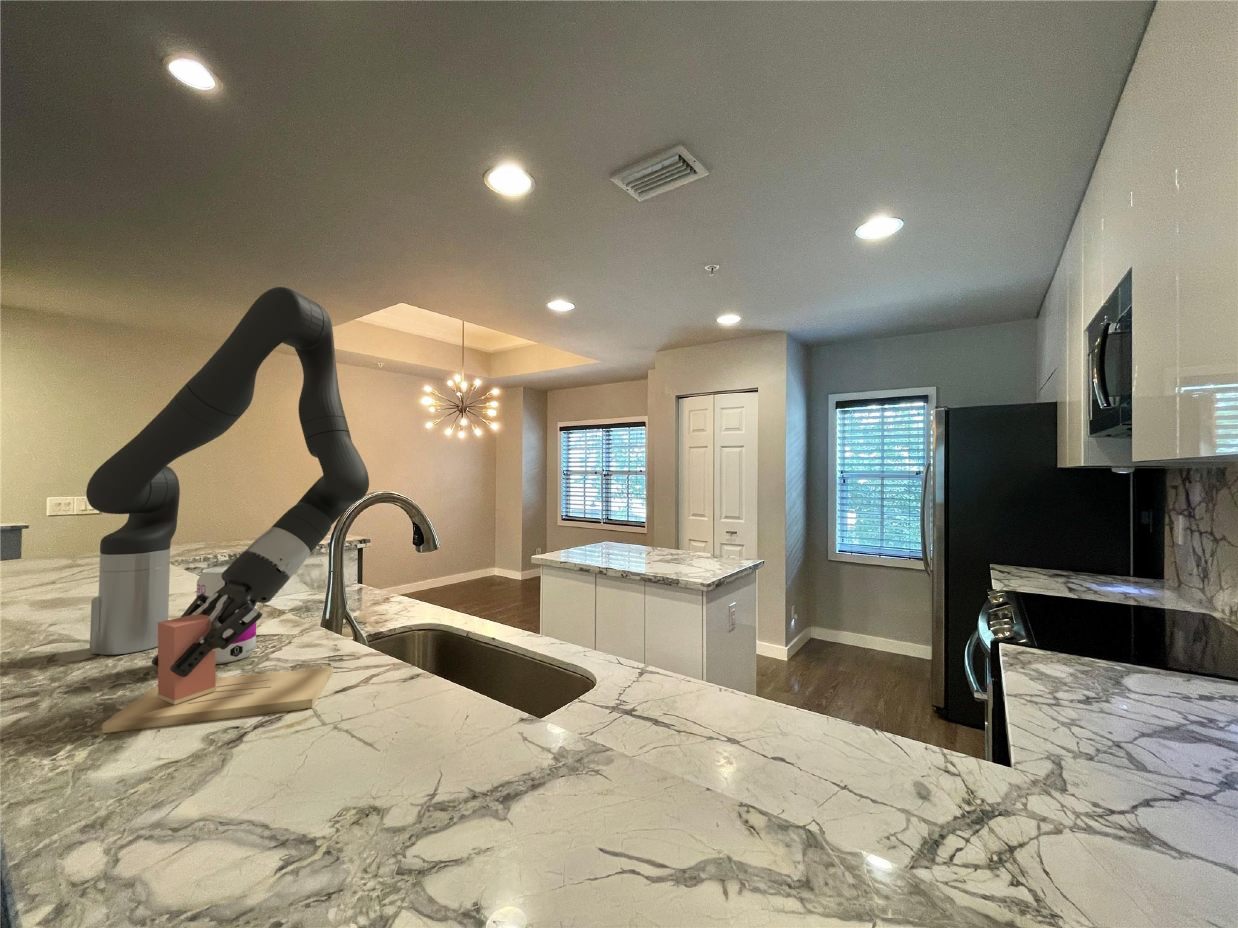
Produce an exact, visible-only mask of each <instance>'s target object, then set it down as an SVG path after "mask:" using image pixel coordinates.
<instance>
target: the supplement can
mask: <svg viewBox="0 0 1238 928" xmlns="http://www.w3.org/2000/svg"><path fill="white" fill-rule="evenodd" d="M229 566H230V565H224V566H217V567H211V568H206V569H203V570H202V571H201V574H200V575H199V577H198V578H197V580H196V597H197V596H198V595H200V594H204V595H206V596H207V597H210V596H212V595H213V594H214V593H215V592H217V591H218V590H219V589H221V588H222V587H223V586H224V585H225V581H223V579H222V577H221V575H222V573H223V572H224V571H225V570H226V569H227V568H228V567H229ZM196 597H195V598H196ZM257 606H258V603H257V604H256V606H255V608H256V609H257V610H258V607H257ZM240 622H241V621H240ZM233 632H234V631H233ZM227 637H228V636H226V637H225V639H226V638H227ZM256 645H257V621H256V622H255V623H254V624H253V625H252V626H251V627H250V628H248V629H247V630H246V631H245V632H244V633H243V634H242V635H241V636H239V637H238V638H237V639H236V640H235V641H234V642H233V643H232V644H230V645H229V646H228V647H227V648H226V649H224V650H222V649H220V648H217V649H216V650H215V665H221V664H228V663H232V662H236V661H239V660H243V659H245V658H248V657H249V656H250V655H252V653H253V652H254V651H255V650H256V647H257V646H256Z"/></svg>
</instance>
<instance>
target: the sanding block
mask: <svg viewBox="0 0 1238 928" xmlns="http://www.w3.org/2000/svg"><path fill="white" fill-rule="evenodd" d="M210 619H211V618H209V616H207V615H202V614H200V615H189V616H185V617H181V616H180V617H176V618H172V619H168V620H167V621H162V622H158V646H157V654H158V667H157V685H158V698H160V699H162V700H164V701H167V702H169V703H171V704H174V705H176V704H179V703H181V702H184V701H187V700H190V699H193V698H196V697H199V696H202V695H204V694H207V693H210V692H213V691H216V664H215V651H213V652H211V651H210V652H209V653H208V654H207V655H206V656H205V657H204V658H203V659H202V661H201V662H200V663H199V664H198V665H197V666H196V667H195V668H194V669H193V670H192V671H191V673H190V674H189V675H188V676H186V677H181V676H179V675H177V674H175V673H173V672H172V671H170V667H171V666H172V665H173V664H174V663H175V662H176V661H177V660H178V659H179V658H180V657H181V656H182V655H183V653H184V652H185V651H186V650H187V649H188V648H189V647H190V646H191V645H192V644H193V643H195V644H198V643H196V640H197V639H198V637H199V636H200V635H201V634H202V633H203V631H204V630H205V629H206V628H207V622H208V621H209V620H210ZM213 632H214V630H213ZM213 632H212V633H213ZM212 633H211V634H212Z"/></svg>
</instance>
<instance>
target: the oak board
mask: <svg viewBox="0 0 1238 928" xmlns="http://www.w3.org/2000/svg"><path fill="white" fill-rule="evenodd" d="M333 671H334V667H333V666H326V667H315V668H306V669H298V670H295V669H294V670H286V671H276V672H275V671H274V672H266V673H257V674H247V675H237V676H234V675H233V676H225V677H217V678H216V691H213V692H210V693H207V694H204V695H202V696H199V697H196V698H193V699H190V700H187V701H184V702H181V703H179V704H176V705H174V704H171V703H169V702H167V701H164V700H162V699H160V698H158V684H156V686H154V687H152V688H151V689H150V690H148V691H146V692H145V693H144V694H142V695H141V696H139V697H138V698H136V699H135V700H134V701H132V702H131V703H130V704H128V705H126V706H125V707H123V708H122V709H121V710H120V711H118V712H117V713H115V714H113V715H112V716H111V717H109V718H108V719H106V720H105V721H104V722H102V727H101V728H102V730H101V731H102V732H101V733H102V734H107V733H116V732H126V731H133V730H141V729H142V730H143V729H150V728H157V727H159V728H160V727H165V726H174V725H182V724H190V723H198V722H208V721H216V720H224V719H232V718H238V717H239V718H240V716H241V717H247V716H250V717H251V716H256V715H257V716H258V715H264V714H274V713H282V712H289V711H297V710H298V711H299V710H306V708H307V709H313V708H314V706H315V704H316V702H317V701H318V699H319V698H320V696H321V695H322V692H323V691H324V690H325V688H326V686H327V685H328V683H329V681H330V680H331V678H332V677H333V674H334V672H333Z"/></svg>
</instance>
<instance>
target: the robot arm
mask: <svg viewBox="0 0 1238 928" xmlns="http://www.w3.org/2000/svg"><path fill="white" fill-rule="evenodd" d="M281 344H284V345H285V346H286V345H287V346H290V347H292V348H294V350H295V352H296V354H297V356H298V360H299V361H300V363H301V368H302V373H303V378H302V379H303V381H302V382H303V383H302V386H301V387H302V388H301V391H300V395H299V400H298V418H299V419H298V420H299V424H300V427H301V431H302V434H303V437H304V441H305V445H306V448H307V451H308V452H309V454H310V455H311V456H312V457H314V458H317V459H318V463H319V466H320V467H321V471H322V475H321V476H320V477H319V478H318V479H317V480H316V481H315V482H313V483H314V484H313V485H311V487H310V488H309V489H308V490H307V491H306V492H305V493H304V494H303V496H302V497H301V498H300V499H299V500H298V502H297V503H296V504H295V505H293V506H292V507H291V508H289V509H288V510H287V511H286V512H285V513H284V514H283V515H282V516H281V517H279V519H277V521H276V522H275V523H273V525H272V526H271V527H270V528H269V529H268V530H266V531H265V532H264V533H261V535H260V536H258V537H257V538H256V539H255V540H254V541H253V542H252V543H251V544H250V545H249V546H248V547H247V548H246V549H245V550H244V551H242V553H241V554H240V555H238V557H237V558H236V559H235V560H234V561H233V562H231V564H230V565H228V566H229V567H228V568H227V569H226V570H225V571H224V572H223V573H222V575H221V577H222V579H223V581H225V585H224V586H223V587H222V588H221V589H219V590H218V591H217V592H215V593H214V594H213V595H212V596H210V597H207V596H206V595H204V594H200V595H198V596H197V597H195V598H194V600H193V601H192V603H190V605H189V606H188V607H187V608H186V610H184V612H183V614H181V616H180V617H185V616H189V615H200V614H202V615H207V616H209V618H211V619H210V620H209V621H208V622H207V628H206V629H205V630H204V631H203V633H202V634H201V635H200V636H199V637H198V639H197V640H196V643H198V644H195V643H193V644H192V645H191V646H190V647H189V648H188V649H187V650H186V651H185V652H184V653H183V655H182V656H181V657H180V658H179V659H178V660H177V661H176V662H175V663H174V664H173V665H172V666H171V667H170V671H172V672H173V673H175V674H177V675H179V676H181V677H186V676H188V675H189V674H190V673H191V671H192V670H193V669H194V668H195V667H196V666H197V665H198V664H199V663H200V662H201V661H202V659H203V658H204V657H205V656H206V655H207V654H208V653H209V652H210V651H211V652H213V651H215V650H216V649H217V648H220V649H222V650H224V649H226V648H227V647H228V646H229V645H230V644H232V643H233V642H234V641H235V640H236V639H237V638H238V637H239V636H241V635H242V634H243V633H244V632H245V631H246V630H247V629H248V628H250V627H251V626H252V625H253V624H254V623H255V622H256V623H257V622H258V621H259V620H260V619H261V618H262V616H263V613H262V612H261V611H260V610H259V609H258V608H257V609H256V608H255V606H256V604H257V605H258V603H259V604H260V603H261V604H267V603H269V602H270V601H272V599H274V597H275V596H276V595H277V594H278V593H279V591H280V590H282V589H283V587H284V586H285V585H286V584H287V583H288V582H289V581H290V580H291V578H292V577H293V576H294V575H295V574H296V573H297V572H298V570H299V569H300V568H301V567H302V566H303V564H304V563H305V562H306V560H307V558H308V557H309V556H310V555H311V553H312V552H313V551H314V550H315V549H316V548H317V547H318V546H319V545H320V544H321V542H322V541H323V540H324V539H325V538H326V536H327V535H328V534H329V533H330V531H331V529H332V526H333V525H334V523H335V522H337V521H338V519H339V518H340V517H341V516H342V515H343V514H344V513H345V512H346V511H348V509H349V508H351V506H353V505H355V504H356V503H358V502H360V500H362V499H363V498H364V497H365V496H366V495H367V494H368V492H369V491H368V490H369V486H370V478H369V473H368V469H367V466H366V465H365V463H364V461H363V459H362V457H361V455H360V453H359V451H358V449H357V448H356V446H355V444H354V443H353V441H352V436H351V433H350V428H349V426H348V425H349V424H348V421H347V418H346V414H345V411H344V407H343V402H342V398H341V394H340V387H339V380H338V372H337V371H338V370H337V361H336V353H335V352H336V351H335V339H334V330H333V323H332V320H331V316H330V315H329V313H328V312H327V310H326V309H325V308H324V307H323V306H321V305H320V304H319V303H317V302H315V300H314V301H313V299H310V298H308V297H306V296H304V295H302V294H300V293H299V292H297V291H295V290H293V289H291V288H288V287H284V286H276V287H272V288H270V289H268V290H266V291H265V292H263V293H262V294H260V295H259V297H258V298H257V299H256V300H255V301H254V302H253V303H252V304H251V306H250V307H249V308H248V310H247V311H246V312H245V314H244V315H243V317H242V318H241V319H240V320H239V322H238V323H237V325H236V326H235V328H234V329H233V330H232V332H231V333H230V335H229V336H228V337H227V339H226V340H225V341H224V342H223V344H221V346H220V347H219V348H218V349H217V350H216V351H215V352H214V354H213V355H212V356H211V358H209V360H208V361H207V362H206V363H205V364H204V365H203V366H202V367H201V368H200V369H199V370H198V371H197V372H196V373H195V374H194V375H193V376H192V377H191V378H189V380H188V381H187V382H186V383H185V384H184V385H183V386H182V387H181V388H180V390H178V392H176V394H175V395H174V396H173V398H172V399H171V400H170V401H169V402H168V403H167V404H166V405H165V407H163V408H162V410H160V412H159V413H158V414H157V415H155V416H154V417H153V419H152V420H151V421H150V422H149V423H147V424H146V426H145V427H144V428H142V430H140V432H138V434H136V436H134V437H133V438H132V439H131V440H129V442H128V443H126V444H125V445H124V446H123V447H122V448H120V449H119V450H118V451H117V452H115V453H114V454H112V456H111V457H109V458H108V459H106V461H105V462H103V463H102V464H101V465H100V466H99V467H98V468H97V469H96V470H95V471H94V473H93V474H92V476H91V477H90V478H89V480H88V482H87V486H86V491H85V492H86V493H85V494H86V500H87V502H88V504H89V506H90V507H91V508H92V509H93V510H95V511H98V512H100V513H103V514H110V515H128V517H127V521H126V523H124V524H123V526H121V527H120V528H118V529H117V530H115V531H113V532H111V533H108V534H106V535H105V536H103V537H102V538H101V539H100V545H99V567H98V569H99V572H98V596H96V597H93V598H92V599H91V603H90V604H91V605H90V630H89V631H90V634H89V635H90V636H89V655H95V654H96V655H103V656H104V655H105V656H109V655H111V656H112V655H122V654H130V653H137V652H141V651H147V650H150V649H151V650H152V649H153V648H158V622H162V621H167V620H169V608H170V607H169V606H170V573H171V572H170V570H171V569H170V568H171V567H170V566H171V565H170V564H171V545H172V539H173V537H174V536H175V533H176V531H177V526H178V517H179V506H180V505H179V504H180V494H181V492H180V491H181V490H180V482H179V478H178V475H177V473H176V471H174V469H173V468H171V467H170V466H168V465H170V464H171V463H172V462H173V461H175V460H177V459H178V458H180V457H182V456H184V455H186V454H188V453H190V452H193V451H194V450H196V449H198V448H200V447H202V446H204V445H207V444H208V443H210V442H212V441H213V440H215V439H217V438H219V437H220V436H223V434H225V433H226V432H227V431H228V430H229V429H231V427H233V425H234V424H235V423H236V422H237V421H238V420H239V419H240V418H241V417H242V416H243V414H245V412H246V411H247V410H248V409H249V408H250V406H251V404H252V401H253V399H254V398H253V397H254V393H255V388H256V387H255V386H256V378H257V374H258V371H259V368H260V367H261V365H262V364H263V362H264V361H265V360H266V359H267V358H268V356H269V355H270V354H272V352H273V351H274V350H275V349H276V348H277V347H279V346H280V345H281ZM240 621H241V622H240ZM213 630H214V632H213ZM233 631H234V632H233ZM212 632H213V633H212ZM211 633H212V634H211ZM226 636H228V637H227V638H226V639H225V637H226ZM153 657H154V656H153ZM151 665H153V666H155V667H157V668H158V653H157V654H156V655H155V657H154V658H152V659H151Z"/></svg>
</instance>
